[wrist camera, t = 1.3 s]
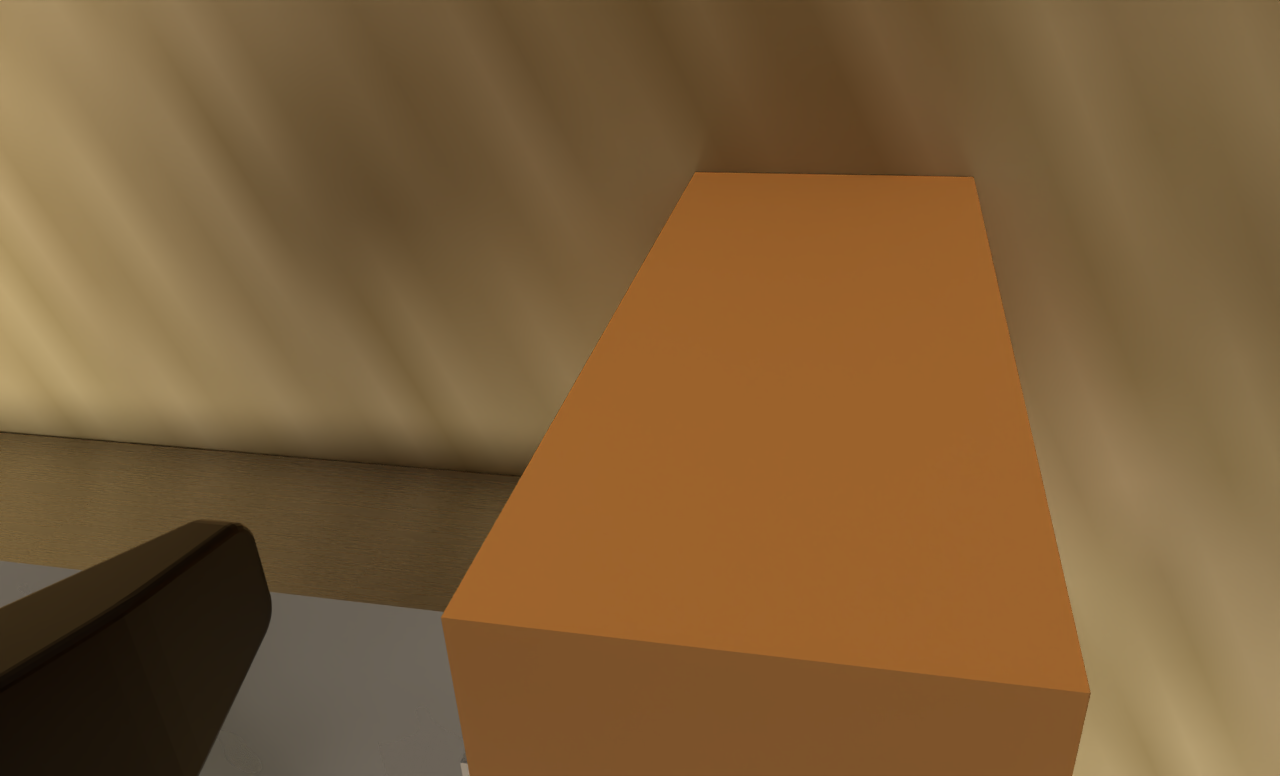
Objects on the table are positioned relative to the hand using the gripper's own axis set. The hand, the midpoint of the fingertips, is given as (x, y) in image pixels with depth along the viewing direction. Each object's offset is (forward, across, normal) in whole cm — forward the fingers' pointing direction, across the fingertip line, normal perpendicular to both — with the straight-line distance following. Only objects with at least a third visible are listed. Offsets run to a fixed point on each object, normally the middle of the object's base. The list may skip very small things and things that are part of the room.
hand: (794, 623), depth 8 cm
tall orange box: (+6, 0, 0) cm, 6 cm away
